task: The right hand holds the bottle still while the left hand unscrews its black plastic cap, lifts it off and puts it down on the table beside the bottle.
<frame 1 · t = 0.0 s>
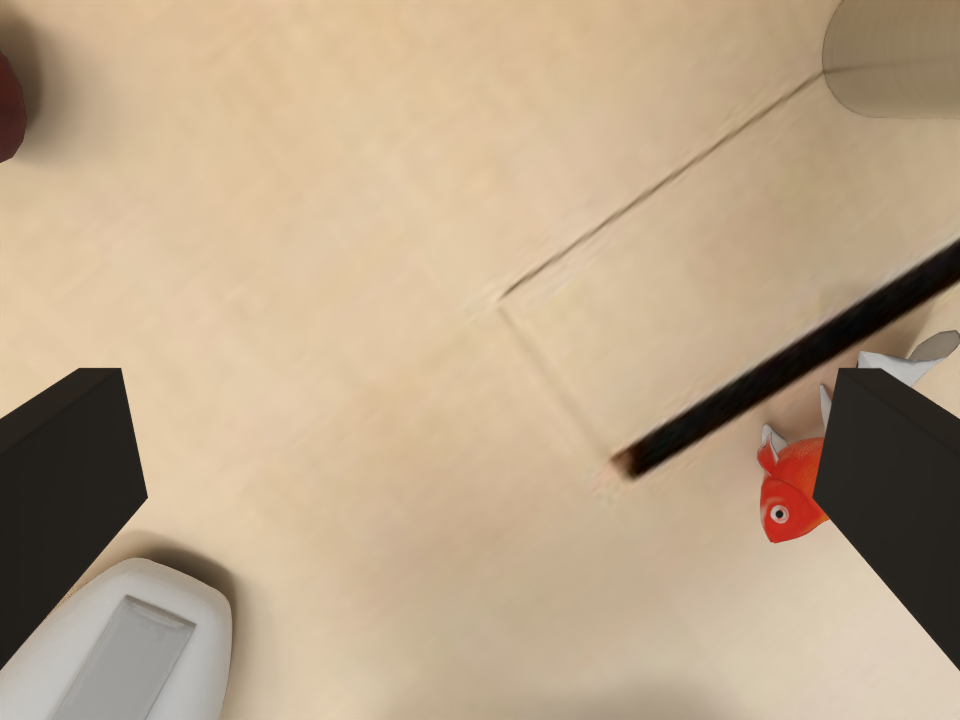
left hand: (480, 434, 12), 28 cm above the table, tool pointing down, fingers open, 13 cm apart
bottle: (891, 44, 35), on the table
projector: (132, 665, 51), on the table
fish: (824, 403, 43), on the table
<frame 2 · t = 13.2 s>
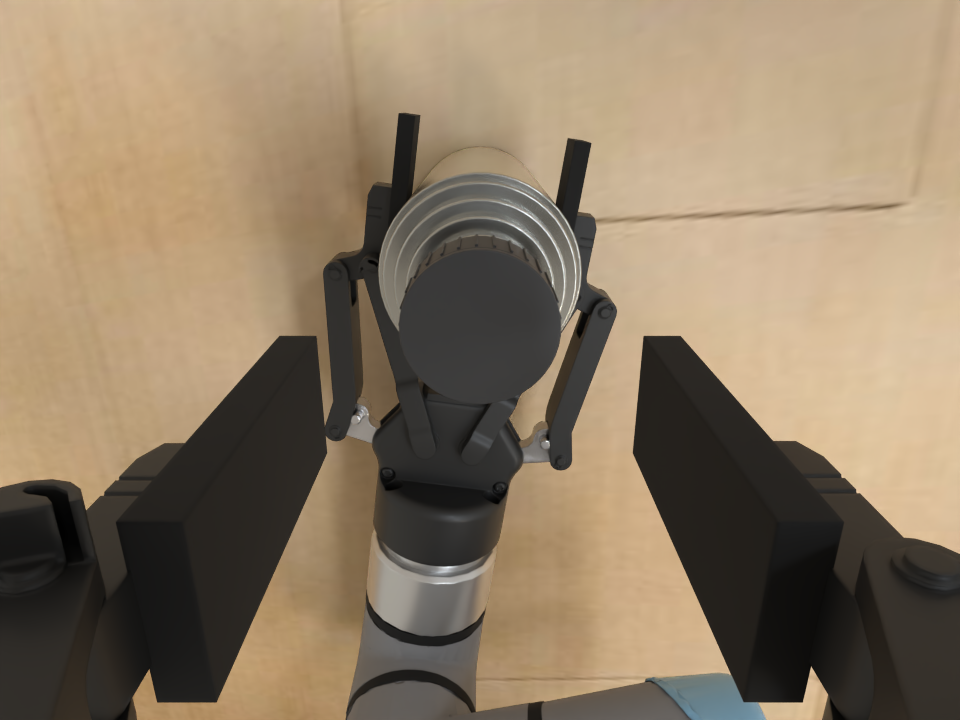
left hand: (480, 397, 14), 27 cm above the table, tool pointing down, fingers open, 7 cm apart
right hand: (494, 128, 31), fingers closed on bottle, 7 cm apart
cap: (480, 327, 18), point 22 cm above the table, screwed on, not yet turned
bottle: (480, 211, 39), on the table, touching right hand
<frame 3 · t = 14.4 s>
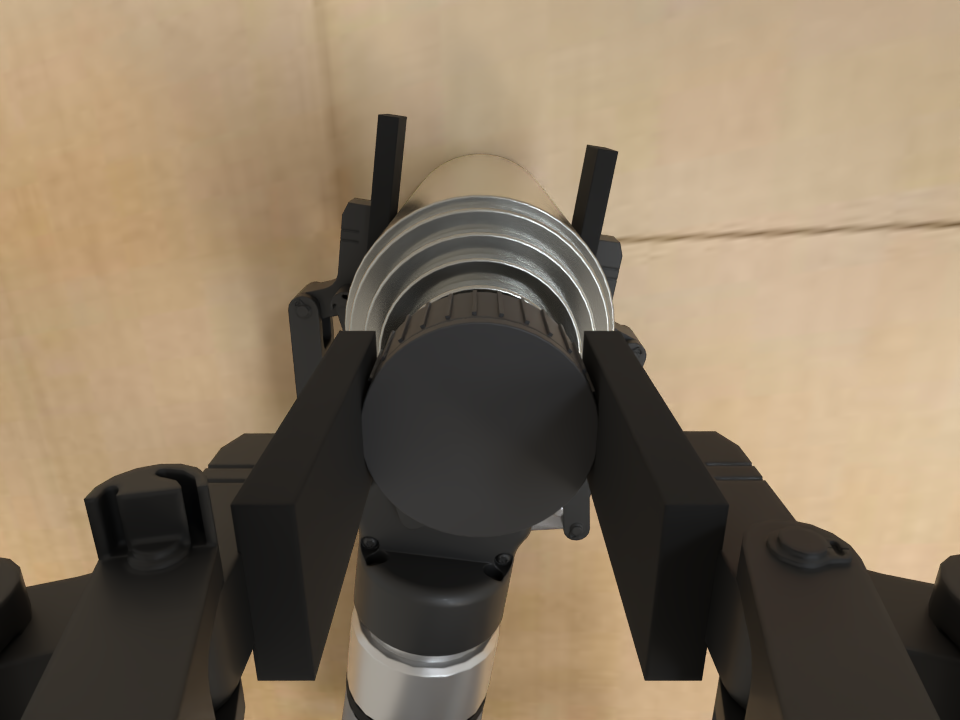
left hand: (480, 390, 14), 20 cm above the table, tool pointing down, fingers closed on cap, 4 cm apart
right hand: (498, 132, 25), fingers closed on bottle, 7 cm apart
cap: (479, 429, 13), point 22 cm above the table, screwed on, not yet turned, touching left hand
bottle: (479, 230, 33), on the table, touching right hand
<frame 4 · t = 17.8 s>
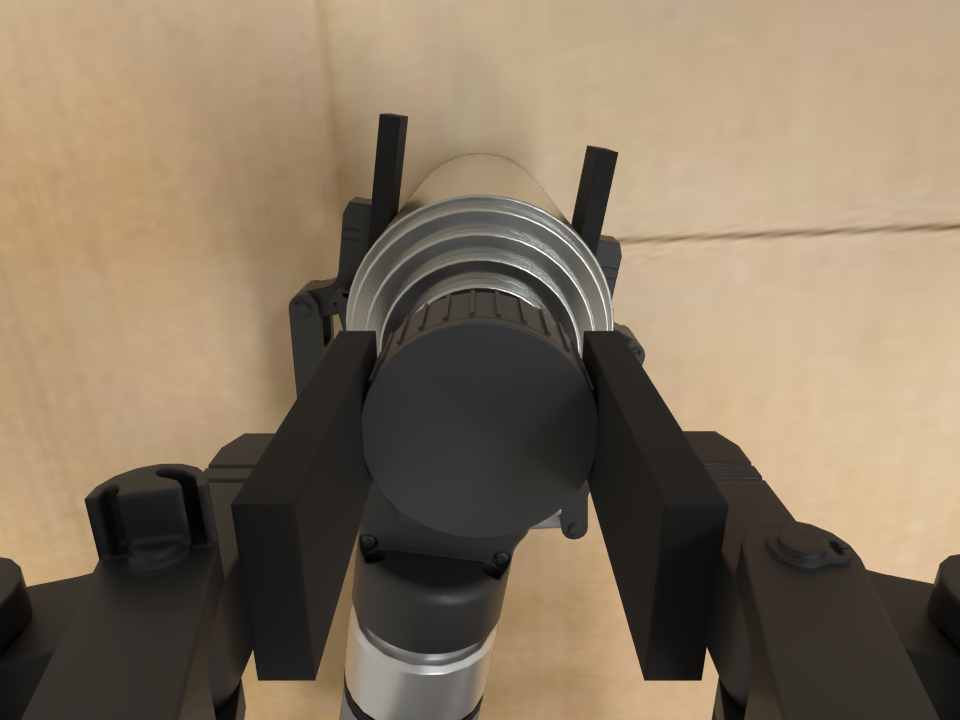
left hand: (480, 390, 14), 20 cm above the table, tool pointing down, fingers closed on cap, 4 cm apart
right hand: (498, 133, 25), fingers closed on bottle, 7 cm apart
cap: (479, 430, 13), point 22 cm above the table, turned 101° so far, risen 0.1 cm, still on its thread, touching left hand
bottle: (479, 229, 33), on the table, touching right hand
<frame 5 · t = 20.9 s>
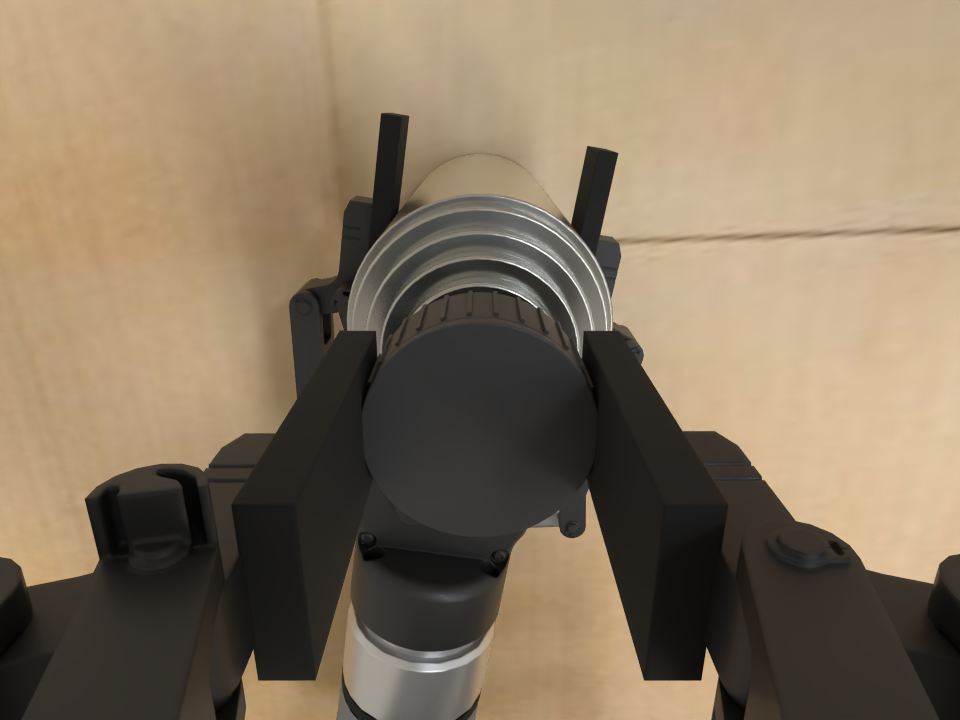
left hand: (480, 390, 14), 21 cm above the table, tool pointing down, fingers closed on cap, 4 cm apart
right hand: (499, 133, 26), fingers closed on bottle, 7 cm apart
cap: (479, 429, 13), point 22 cm above the table, turned 202° so far, risen 0.2 cm, still on its thread, touching left hand
bottle: (479, 229, 33), on the table, touching right hand
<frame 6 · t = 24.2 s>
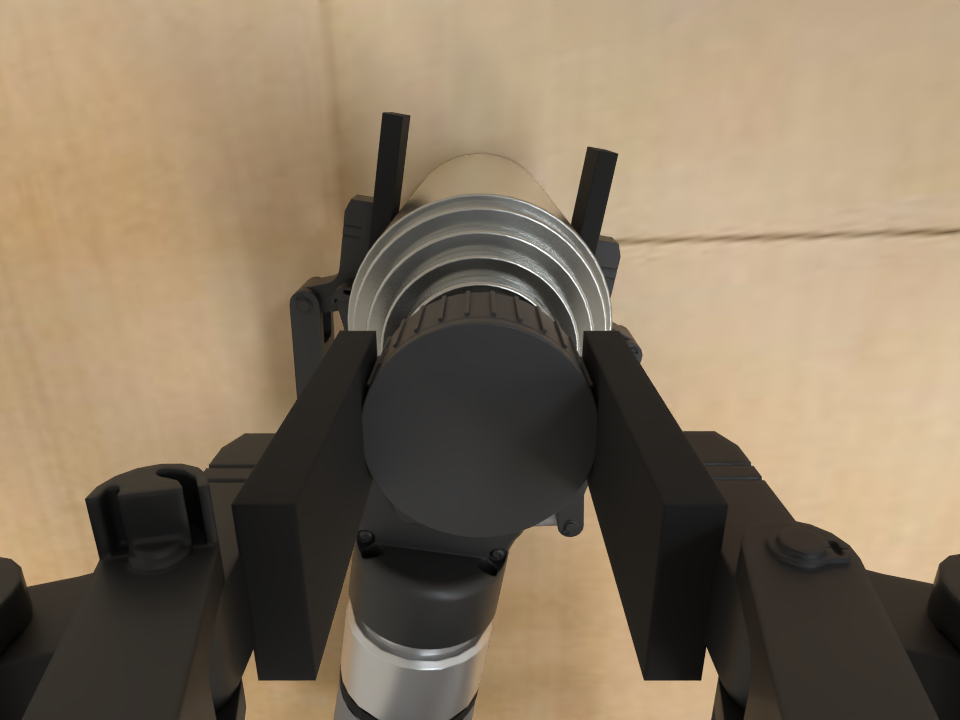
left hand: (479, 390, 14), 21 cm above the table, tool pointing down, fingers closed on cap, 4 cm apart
right hand: (500, 133, 26), fingers closed on bottle, 7 cm apart
cap: (479, 430, 13), point 22 cm above the table, turned 302° so far, risen 0.4 cm, still on its thread, touching left hand
bottle: (479, 229, 34), on the table, touching right hand
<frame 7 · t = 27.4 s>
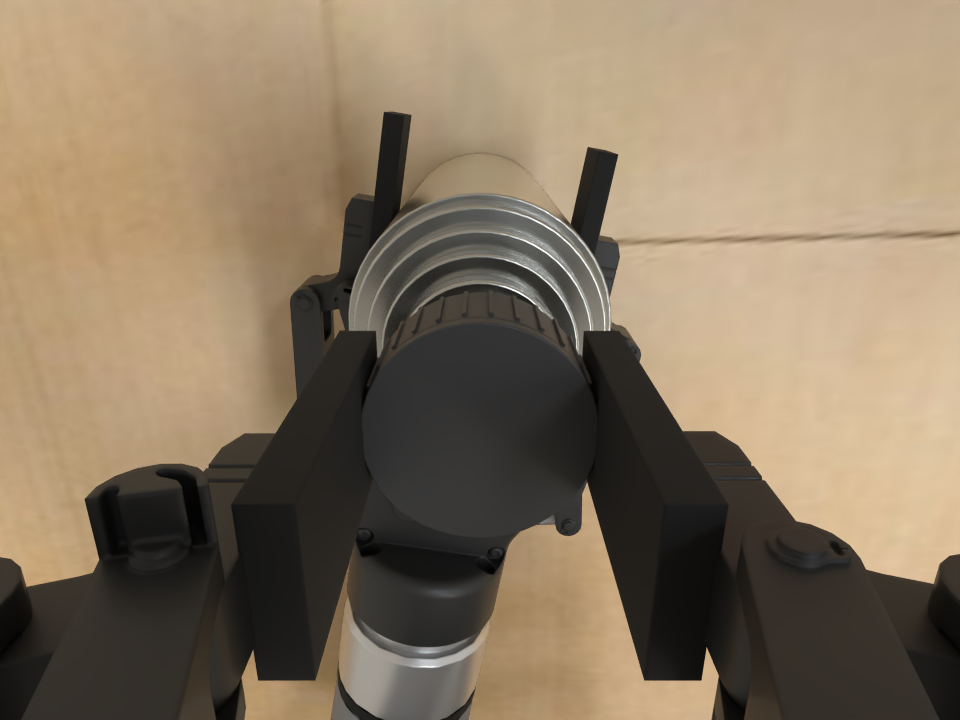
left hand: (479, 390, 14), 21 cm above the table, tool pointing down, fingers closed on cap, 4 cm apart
right hand: (501, 133, 26), fingers closed on bottle, 7 cm apart
cap: (479, 430, 13), point 23 cm above the table, turned 403° so far, risen 0.5 cm, still on its thread, touching left hand
bottle: (479, 228, 34), on the table, touching right hand
when the left hand's fingers open (2 cm above the table, at t = 34.5 s): cap drops 2 cm, point 2 cm above the table.
when the right hand's fingers open (7 cm above the table, at t = 35.8 s): bottle stays where it is, on the table.
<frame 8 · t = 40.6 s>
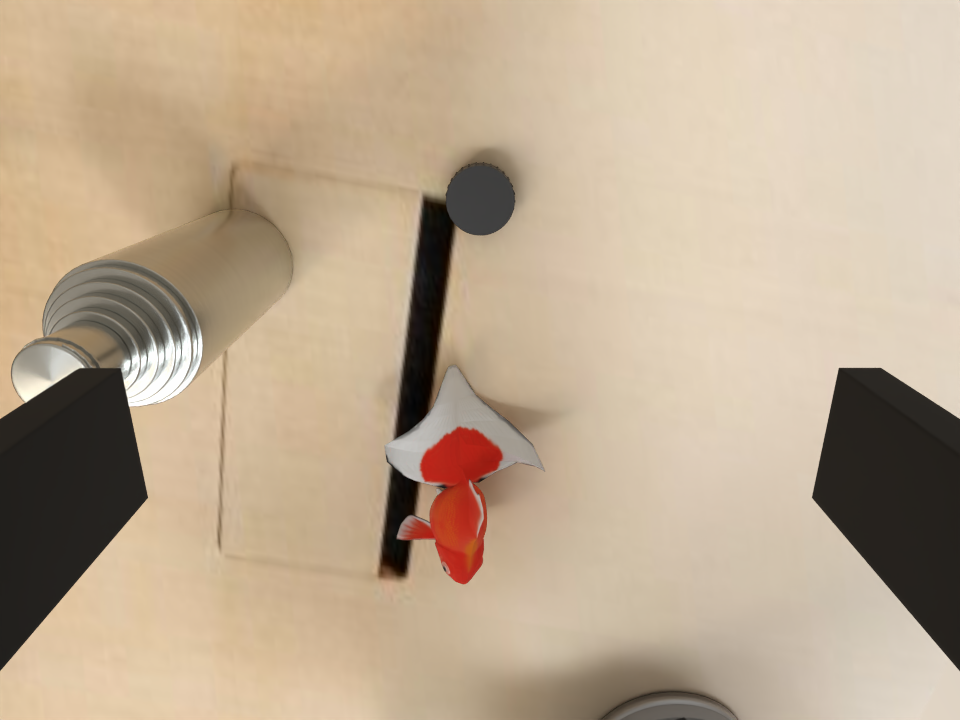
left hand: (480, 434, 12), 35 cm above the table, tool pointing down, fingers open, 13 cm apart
cap: (480, 200, 43), point 2 cm above the table, off its thread
bottle: (240, 261, 47), on the table
fish: (456, 448, 52), on the table
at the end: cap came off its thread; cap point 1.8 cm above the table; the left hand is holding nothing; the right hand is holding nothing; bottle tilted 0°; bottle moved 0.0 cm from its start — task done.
